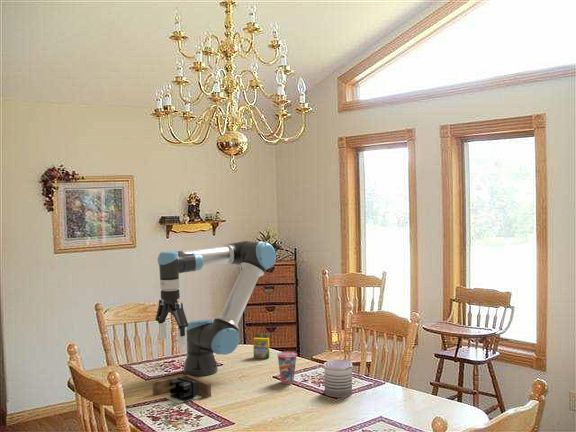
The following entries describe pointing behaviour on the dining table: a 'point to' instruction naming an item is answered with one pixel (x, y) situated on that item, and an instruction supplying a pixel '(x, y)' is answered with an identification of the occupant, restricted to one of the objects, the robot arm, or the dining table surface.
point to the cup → (287, 366)
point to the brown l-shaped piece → (164, 387)
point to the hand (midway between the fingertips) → (172, 341)
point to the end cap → (183, 389)
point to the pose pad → (181, 400)
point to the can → (338, 378)
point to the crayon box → (261, 346)
